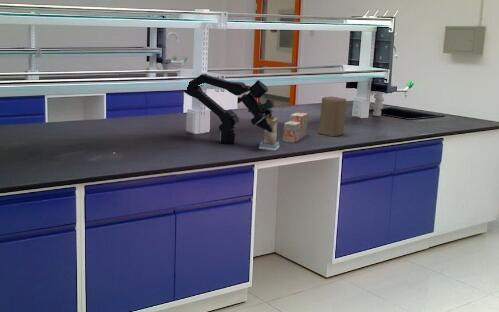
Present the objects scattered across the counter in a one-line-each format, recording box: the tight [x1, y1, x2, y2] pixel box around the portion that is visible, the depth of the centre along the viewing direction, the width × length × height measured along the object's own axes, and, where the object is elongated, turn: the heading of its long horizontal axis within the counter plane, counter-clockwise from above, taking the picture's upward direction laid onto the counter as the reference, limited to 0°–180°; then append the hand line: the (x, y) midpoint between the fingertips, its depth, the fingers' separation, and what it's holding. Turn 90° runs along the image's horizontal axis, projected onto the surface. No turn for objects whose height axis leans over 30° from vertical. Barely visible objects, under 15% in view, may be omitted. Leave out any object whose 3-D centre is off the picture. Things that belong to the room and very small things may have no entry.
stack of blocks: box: [282, 112, 309, 143], centre depth 290 cm, size 21×6×12 cm, turn 158°
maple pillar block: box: [263, 115, 278, 145], centre depth 264 cm, size 4×4×14 cm
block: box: [318, 96, 347, 138], centre depth 304 cm, size 10×10×20 cm
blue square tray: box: [258, 140, 280, 151], centre depth 266 cm, size 8×8×2 cm
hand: (273, 130), depth 264 cm, fingers open, 7 cm apart
